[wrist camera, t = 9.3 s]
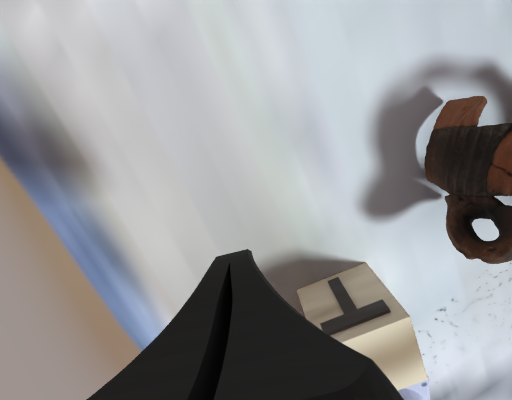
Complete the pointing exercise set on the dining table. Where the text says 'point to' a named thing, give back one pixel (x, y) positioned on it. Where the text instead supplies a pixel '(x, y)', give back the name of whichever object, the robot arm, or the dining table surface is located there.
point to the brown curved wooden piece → (473, 177)
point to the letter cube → (366, 322)
